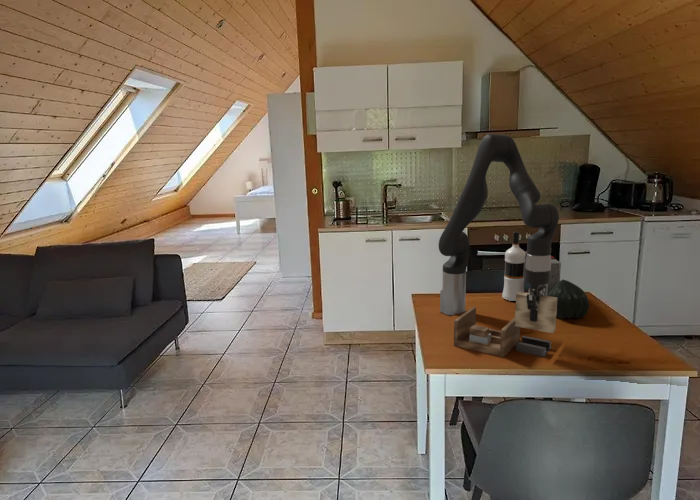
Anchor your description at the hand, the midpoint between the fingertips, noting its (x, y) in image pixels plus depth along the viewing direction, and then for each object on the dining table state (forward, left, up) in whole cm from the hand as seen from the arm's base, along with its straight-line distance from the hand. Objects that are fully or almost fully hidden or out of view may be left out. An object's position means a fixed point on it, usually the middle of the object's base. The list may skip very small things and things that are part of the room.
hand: (535, 319), depth 156 cm
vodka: (-23, +51, -12) cm, 57 cm away
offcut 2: (-15, -7, -8) cm, 19 cm away
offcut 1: (-16, -7, -6) cm, 18 cm away
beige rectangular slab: (0, 0, -3) cm, 3 cm away
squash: (+1, +41, -12) cm, 43 cm away
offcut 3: (-16, -7, -10) cm, 20 cm away
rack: (-15, -3, -11) cm, 19 cm away
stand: (0, 0, -11) cm, 11 cm away
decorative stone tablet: (-12, +60, -12) cm, 62 cm away
